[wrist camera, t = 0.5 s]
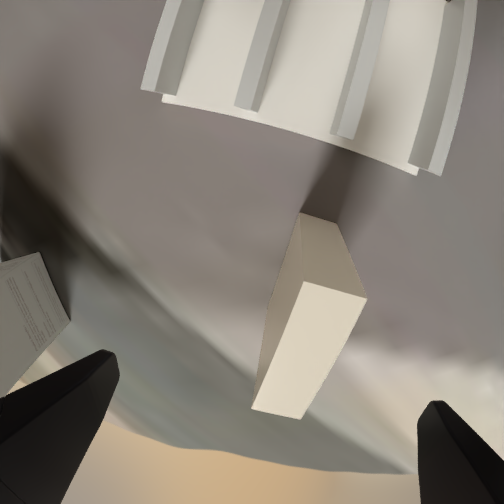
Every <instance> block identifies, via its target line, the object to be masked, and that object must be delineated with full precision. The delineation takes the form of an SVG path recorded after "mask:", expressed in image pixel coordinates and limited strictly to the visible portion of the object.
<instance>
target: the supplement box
mask: <svg viewBox="0 0 504 504" xmlns="http://www.w3.org/2000/svg"><path fill="white" fill-rule="evenodd" d="M69 323H70V320H69V318H68V316H67V314H66V312H65V310H64V308H63V306H62V304H61V302H60V300H59V298H58V295H57V293H56V291H55V289H54V286H53V284H52V282H51V279H50V277H49V275H48V272H47V270H46V267H45V265H44V262H43V260H42V257H41V254H40V252H37V253H33V254H30V255H26V256H22V257H19V258H16V259H12V260H9V261H5V262H2V263H0V398H1V397H3V396H4V397H5V395H6V394H7V393H8V392H9V391H10V389H11V388H12V387H13V386H14V384H15V383H16V382H17V381H18V380H19V379H20V378H21V377H22V375H23V374H24V373H25V372H26V371H27V370H28V369H29V367H30V366H31V365H32V364H33V363H34V362H35V361H36V359H37V358H38V357H39V356H40V355H41V354H42V353H43V352H44V351H45V349H46V348H47V347H48V346H49V345H50V344H51V343H52V342H53V341H54V340H55V338H56V337H57V336H58V335H59V334H60V333H61V332H62V331H63V330H64V328H65V327H66V326H67V325H68V324H69Z"/></svg>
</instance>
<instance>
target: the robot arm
mask: <svg viewBox="0 0 504 504" xmlns="http://www.w3.org/2000/svg"><path fill="white" fill-rule="evenodd" d="M119 376H120V373H119V368H118V363H117V358H116V355H115V354H114V353H113V352H110V351H107V350H103V349H102V350H99V351H97V352H95V353H93V354H91V355H89V356H87V357H85V358H83V359H81V360H79V361H76V362H74V363H72V364H70V365H68V366H66V367H64V368H62V369H60V370H58V371H56V372H54V373H52V374H50V375H48V376H46V377H43V378H41V379H39V380H37V381H35V382H33V383H31V384H29V385H27V386H25V387H23V388H20V389H18V390H16V391H14V392H12V393H10V394H8V395H6V396H5V397H4V396H3V397H1V398H0V504H61V502H62V500H63V498H64V496H65V494H66V491H67V489H68V487H69V485H70V483H71V481H72V479H73V477H74V475H75V473H76V471H77V469H78V467H79V465H80V463H81V461H82V459H83V458H84V456H85V453H86V452H87V449H88V448H89V446H90V444H91V442H92V440H93V438H94V436H95V434H96V433H97V430H98V429H99V427H100V425H101V423H102V421H103V418H104V416H105V414H106V411H107V408H108V406H109V403H110V401H111V398H112V396H113V393H114V391H115V388H116V386H117V383H118V381H119ZM417 435H418V475H419V485H420V498H421V504H504V460H503V459H502V458H501V457H500V456H499V455H498V454H497V453H496V452H495V451H494V450H493V449H492V448H491V447H490V446H489V445H488V444H487V443H486V442H485V441H484V440H483V439H482V438H481V437H480V436H479V435H478V434H477V433H476V432H475V431H474V430H473V429H472V428H471V427H470V426H469V425H468V424H467V423H466V422H465V421H464V420H463V419H462V418H461V417H460V416H459V415H458V414H457V413H456V412H455V411H454V410H453V409H452V408H451V407H450V406H449V405H448V404H447V403H446V402H444V401H442V400H439V401H431V402H430V403H429V404H428V405H427V407H426V408H425V410H424V412H423V413H422V414H421V416H420V418H419V420H418V423H417Z"/></svg>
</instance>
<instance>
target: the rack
mask: <svg viewBox="0 0 504 504" xmlns="http://www.w3.org/2000/svg"><path fill="white" fill-rule="evenodd" d="M476 13H477V0H452V1H451V2H447V1H446V0H167V2H166V5H165V8H164V10H163V13H162V16H161V19H160V22H159V25H158V28H157V32H156V35H155V38H154V41H153V45H152V48H151V52H150V55H149V59H148V62H147V66H146V70H145V73H144V77H143V81H142V85H141V89H142V90H147V91H152V92H157V93H162V94H163V98H162V102H164V103H170V104H176V105H182V106H187V107H193V108H198V109H203V110H208V111H212V112H217V113H222V114H226V115H230V116H235V117H239V118H243V119H247V120H251V121H255V122H259V123H263V124H267V125H271V126H274V127H278V128H282V129H285V130H289V131H292V132H295V133H299V134H302V135H305V136H309V137H312V138H315V139H318V140H321V141H325V142H328V143H331V144H334V145H337V146H340V147H343V148H345V149H348V150H351V151H354V152H357V153H360V154H362V155H365V156H368V157H370V158H373V159H376V160H378V161H381V162H384V163H386V164H389V165H391V166H394V167H396V168H399V169H401V170H403V171H406V172H408V173H411V174H413V175H415V176H417V173H418V170H419V168H420V169H423V170H426V171H428V172H431V173H434V174H436V175H439V176H441V174H442V171H443V168H444V165H445V162H446V158H447V155H448V152H449V148H450V145H451V142H452V138H453V134H454V131H455V127H456V123H457V119H458V116H459V112H460V107H461V103H462V99H463V94H464V90H465V85H466V80H467V75H468V70H469V64H470V58H471V52H472V46H473V39H474V31H475V22H476Z"/></svg>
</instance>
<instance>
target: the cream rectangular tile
mask: <svg viewBox="0 0 504 504" xmlns="http://www.w3.org/2000/svg"><path fill="white" fill-rule="evenodd" d="M366 301H367V297H366V294H365V291H364V289H363V286H362V284H361V281H360V278H359V276H358V273H357V271H356V268H355V266H354V264H353V261H352V259H351V256H350V254H349V251H348V249H347V247H346V244H345V242H344V240H343V237H342V235H341V233H340V230H339V228H338V226H337V224H336V223H333V222H329V221H326V220H323V219H320V218H317V217H313V216H310V215H307V214H304V213H300V212H299V215H298V218H297V221H296V224H295V227H294V230H293V233H292V236H291V239H290V242H289V245H288V248H287V252H286V255H285V258H284V261H283V264H282V267H281V270H280V273H279V276H278V278H277V281H276V284H275V287H274V290H273V293H272V296H271V299H270V302H269V305H268V308H267V314H266V321H265V327H264V333H263V340H262V346H261V352H260V358H259V365H258V371H257V377H256V383H255V389H254V395H253V401H252V407H251V409H255V410H259V411H263V412H267V413H272V414H276V415H281V416H286V417H291V418H296V419H301V418H302V416H303V415H304V413H305V411H306V410H307V408H308V407H309V405H310V403H311V402H312V400H313V399H314V397H315V395H316V394H317V392H318V390H319V389H320V387H321V385H322V383H323V382H324V380H325V378H326V377H327V375H328V373H329V371H330V370H331V368H332V366H333V364H334V363H335V361H336V359H337V357H338V355H339V353H340V352H341V350H342V348H343V346H344V344H345V342H346V340H347V339H348V337H349V335H350V333H351V331H352V329H353V327H354V325H355V323H356V321H357V319H358V317H359V315H360V313H361V311H362V309H363V307H364V305H365V303H366Z"/></svg>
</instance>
